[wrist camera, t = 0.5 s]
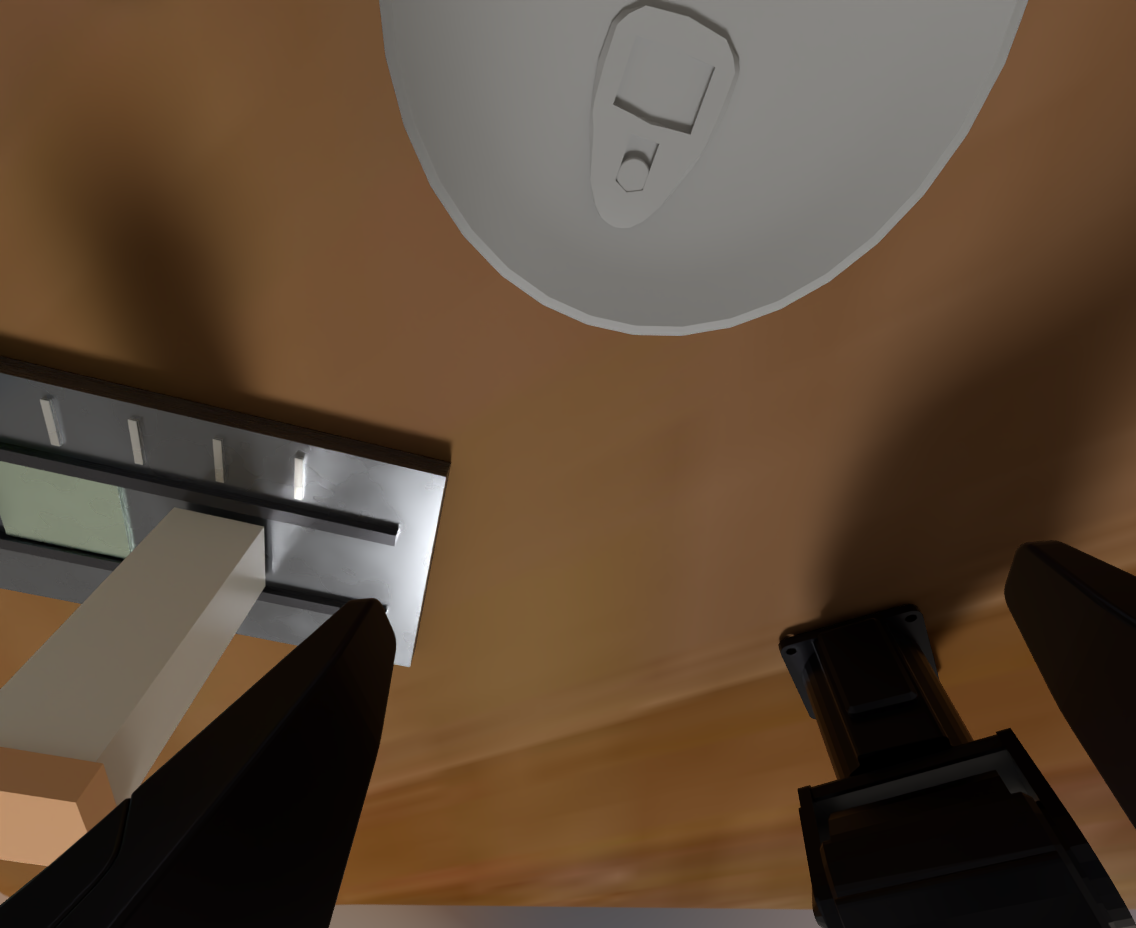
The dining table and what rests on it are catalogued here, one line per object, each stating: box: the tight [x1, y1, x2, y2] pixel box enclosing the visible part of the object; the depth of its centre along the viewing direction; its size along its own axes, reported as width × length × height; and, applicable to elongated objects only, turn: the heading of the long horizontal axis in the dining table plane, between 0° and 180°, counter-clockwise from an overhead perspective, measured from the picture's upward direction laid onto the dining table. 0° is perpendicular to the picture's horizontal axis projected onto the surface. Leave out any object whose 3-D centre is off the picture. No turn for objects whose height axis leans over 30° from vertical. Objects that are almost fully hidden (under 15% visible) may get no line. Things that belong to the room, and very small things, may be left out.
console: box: [0, 356, 451, 667], centre depth 25 cm, size 20×12×3 cm, turn 75°
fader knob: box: [0, 507, 265, 866], centre depth 20 cm, size 4×4×11 cm
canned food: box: [379, 0, 1028, 336], centre depth 11 cm, size 8×8×11 cm
